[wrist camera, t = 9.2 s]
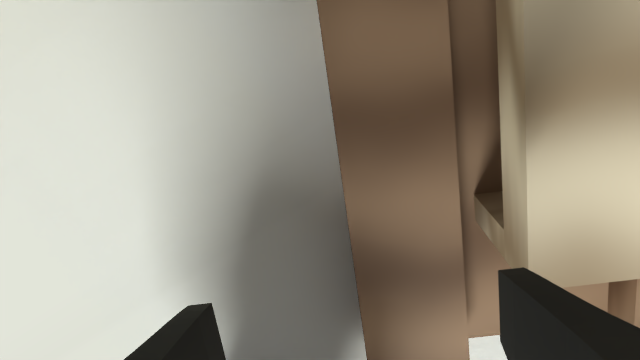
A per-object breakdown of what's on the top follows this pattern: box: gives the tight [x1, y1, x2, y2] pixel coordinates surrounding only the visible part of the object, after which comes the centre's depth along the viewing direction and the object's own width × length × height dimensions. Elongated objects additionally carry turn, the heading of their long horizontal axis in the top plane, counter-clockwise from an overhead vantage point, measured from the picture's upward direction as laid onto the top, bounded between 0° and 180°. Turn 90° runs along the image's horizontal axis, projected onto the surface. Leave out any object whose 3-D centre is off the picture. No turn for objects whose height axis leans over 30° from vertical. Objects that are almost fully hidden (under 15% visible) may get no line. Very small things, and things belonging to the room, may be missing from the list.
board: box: [317, 0, 640, 360], centre depth 19 cm, size 22×16×3 cm
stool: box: [474, 0, 640, 288], centre depth 16 cm, size 14×5×6 cm, turn 9°
